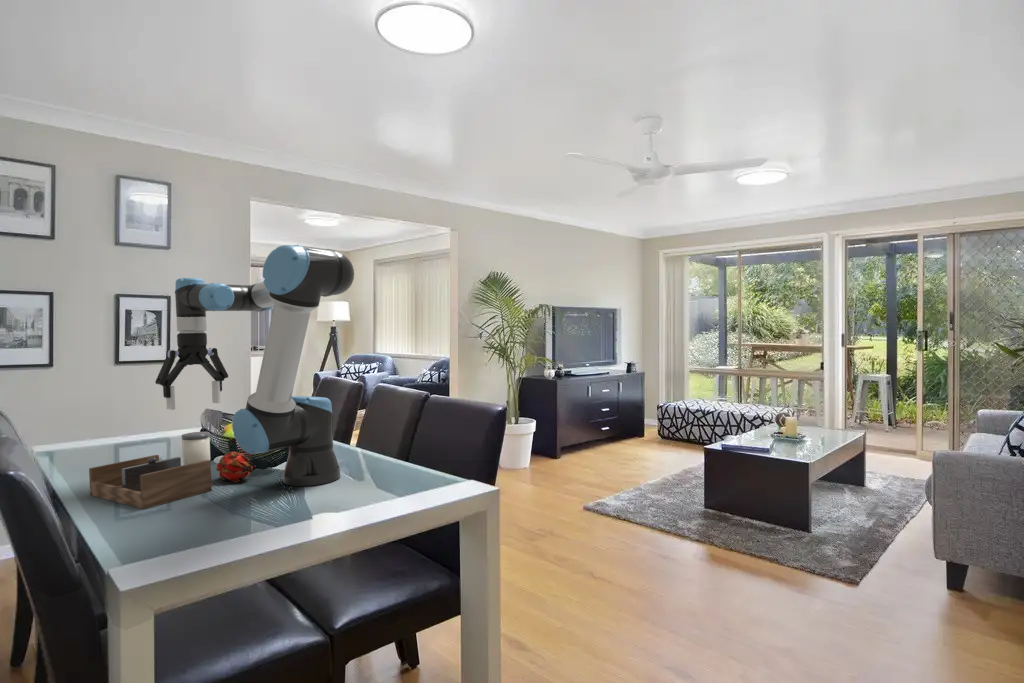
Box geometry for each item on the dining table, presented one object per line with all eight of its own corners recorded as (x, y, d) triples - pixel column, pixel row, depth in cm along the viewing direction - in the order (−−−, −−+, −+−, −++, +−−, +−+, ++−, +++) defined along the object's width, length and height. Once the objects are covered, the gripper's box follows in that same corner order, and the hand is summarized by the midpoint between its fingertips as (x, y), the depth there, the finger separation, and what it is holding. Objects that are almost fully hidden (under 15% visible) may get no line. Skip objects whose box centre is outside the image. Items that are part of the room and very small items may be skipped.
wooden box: (211, 490, 155) (210, 460, 154) (144, 509, 140) (142, 475, 140) (157, 479, 167) (156, 451, 167) (90, 495, 152) (88, 464, 152)
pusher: (181, 482, 159) (180, 452, 158) (126, 496, 146) (124, 464, 146) (178, 481, 159) (177, 452, 159) (122, 495, 147) (121, 463, 147)
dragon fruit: (225, 481, 170) (249, 493, 163) (202, 469, 164) (225, 482, 157) (243, 454, 173) (267, 465, 166) (221, 442, 167) (244, 453, 160)
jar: (216, 473, 172) (215, 432, 172) (192, 479, 166) (191, 437, 166) (201, 470, 176) (200, 430, 175) (177, 476, 170) (176, 435, 169)
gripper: (223, 331, 182) (226, 399, 183) (139, 333, 161) (142, 411, 161) (239, 331, 178) (241, 401, 179) (154, 333, 157) (157, 413, 158)
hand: (194, 406), depth 170 cm, fingers open, 13 cm apart
